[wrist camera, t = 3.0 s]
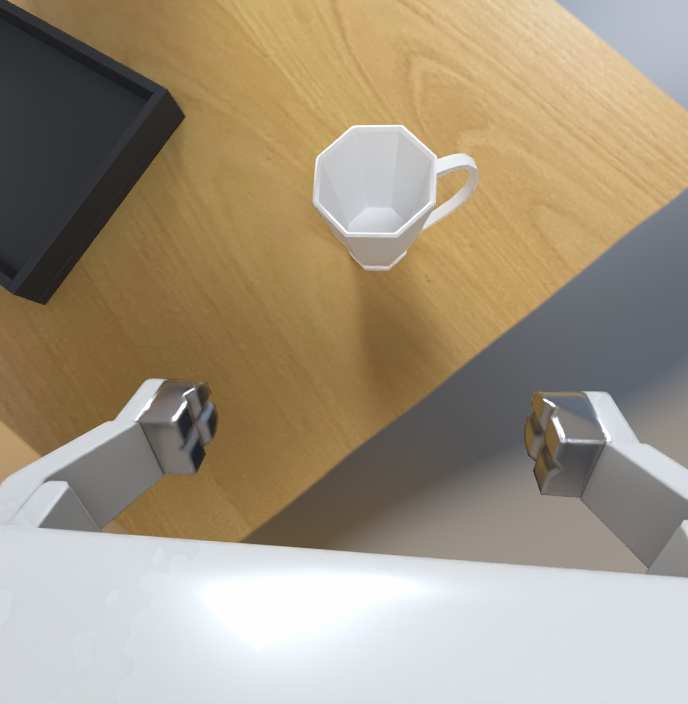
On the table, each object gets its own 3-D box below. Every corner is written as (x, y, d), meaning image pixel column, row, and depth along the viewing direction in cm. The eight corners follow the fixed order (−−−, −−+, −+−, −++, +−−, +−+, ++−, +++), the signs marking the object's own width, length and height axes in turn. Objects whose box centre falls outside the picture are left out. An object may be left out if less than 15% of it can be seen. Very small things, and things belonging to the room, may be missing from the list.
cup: (317, 218, 31) (292, 147, 23) (445, 171, 30) (465, 81, 22) (347, 304, 29) (332, 260, 21) (483, 255, 29) (518, 192, 21)
